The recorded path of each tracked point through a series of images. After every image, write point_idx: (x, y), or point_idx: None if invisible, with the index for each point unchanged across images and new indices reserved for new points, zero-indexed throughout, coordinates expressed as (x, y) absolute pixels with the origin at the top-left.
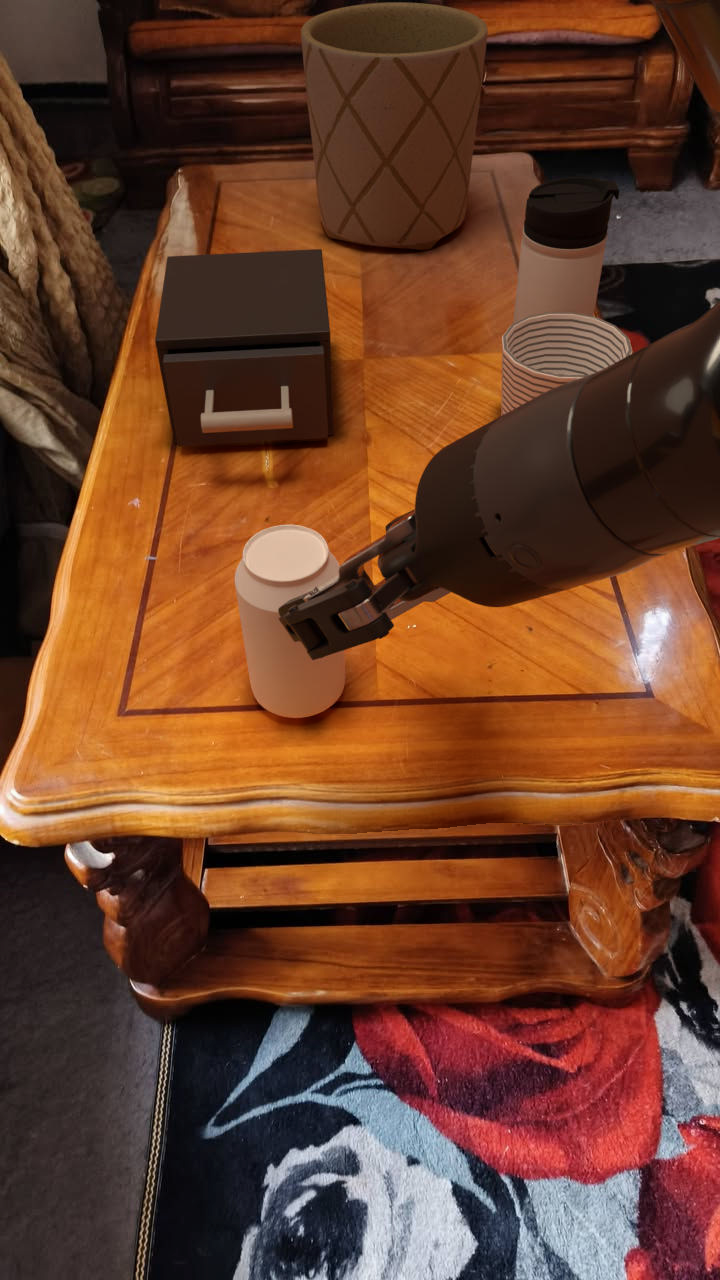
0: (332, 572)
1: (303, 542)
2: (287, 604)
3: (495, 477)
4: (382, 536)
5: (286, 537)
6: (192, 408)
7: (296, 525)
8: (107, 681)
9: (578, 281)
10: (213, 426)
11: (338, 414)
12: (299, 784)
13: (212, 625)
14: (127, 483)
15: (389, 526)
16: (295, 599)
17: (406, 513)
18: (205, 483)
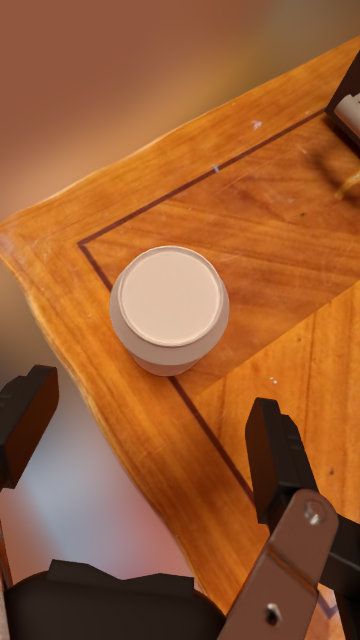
0: (188, 352)
1: (201, 300)
2: (22, 383)
3: None
4: (5, 628)
5: (197, 278)
6: (357, 88)
7: (218, 278)
8: (99, 217)
9: None
10: (344, 113)
11: None
12: (88, 393)
13: (184, 246)
14: (269, 107)
15: (259, 404)
16: (24, 392)
17: (282, 431)
18: (306, 152)
